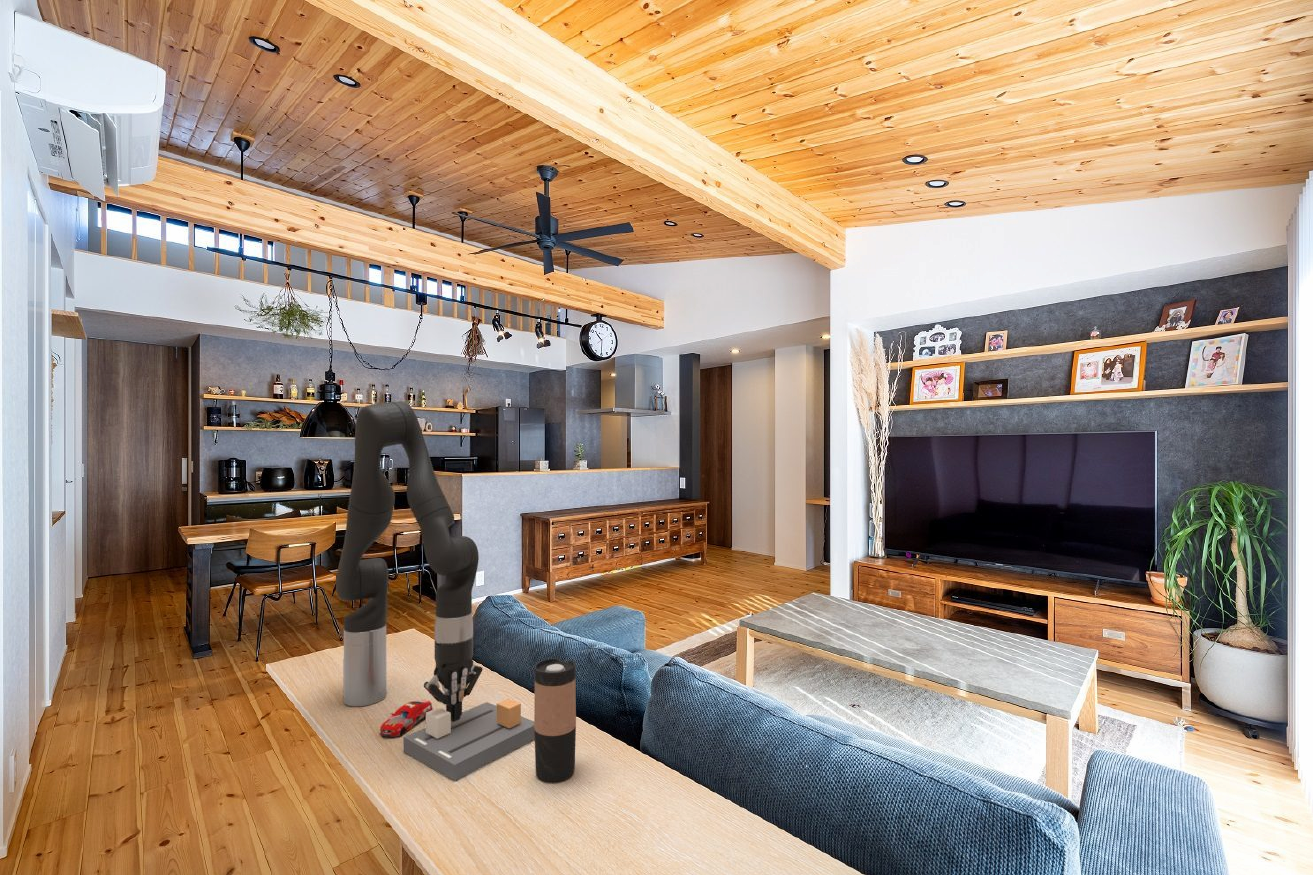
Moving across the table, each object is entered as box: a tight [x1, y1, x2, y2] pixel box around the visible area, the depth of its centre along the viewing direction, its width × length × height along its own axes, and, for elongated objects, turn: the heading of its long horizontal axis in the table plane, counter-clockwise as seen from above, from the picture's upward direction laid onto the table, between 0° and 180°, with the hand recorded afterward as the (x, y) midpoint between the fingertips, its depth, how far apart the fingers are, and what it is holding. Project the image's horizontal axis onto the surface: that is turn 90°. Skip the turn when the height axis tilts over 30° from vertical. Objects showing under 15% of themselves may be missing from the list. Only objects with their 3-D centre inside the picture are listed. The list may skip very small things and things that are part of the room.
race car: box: [379, 699, 433, 738], centre depth 132 cm, size 13×5×4 cm, turn 163°
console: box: [402, 701, 535, 782], centre depth 123 cm, size 17×20×3 cm
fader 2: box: [496, 698, 522, 728], centre depth 125 cm, size 4×3×4 cm
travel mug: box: [533, 657, 577, 784], centre depth 112 cm, size 8×8×20 cm
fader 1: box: [425, 707, 451, 739], centre depth 121 cm, size 4×3×4 cm
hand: (454, 719), depth 124 cm, fingers closed
